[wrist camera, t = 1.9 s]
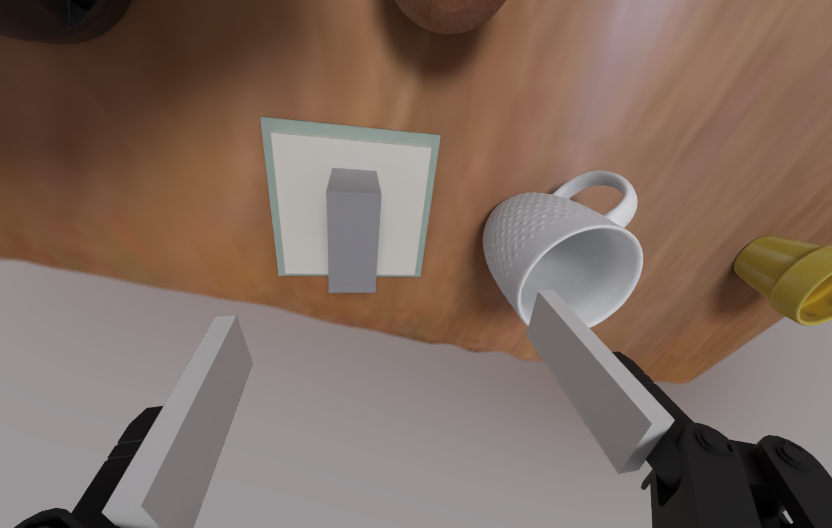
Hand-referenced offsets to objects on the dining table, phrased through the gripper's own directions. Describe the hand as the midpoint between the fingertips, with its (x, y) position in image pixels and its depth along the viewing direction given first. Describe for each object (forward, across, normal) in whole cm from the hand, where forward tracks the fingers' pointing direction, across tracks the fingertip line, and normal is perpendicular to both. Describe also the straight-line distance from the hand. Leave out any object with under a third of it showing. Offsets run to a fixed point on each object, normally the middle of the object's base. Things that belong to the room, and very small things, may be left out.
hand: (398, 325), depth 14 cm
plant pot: (+21, +55, -12) cm, 60 cm away
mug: (+21, +17, -4) cm, 27 cm away
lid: (+20, -2, -2) cm, 21 cm away
